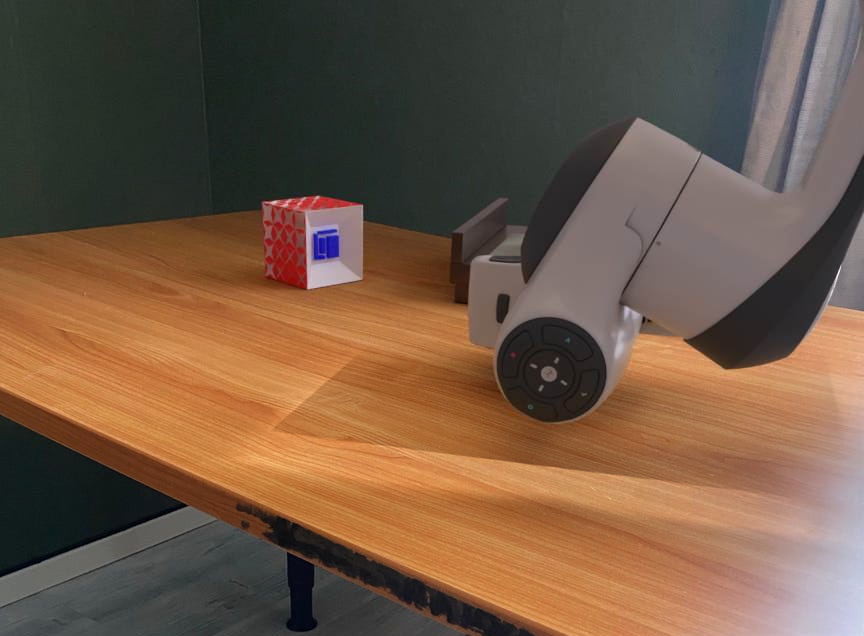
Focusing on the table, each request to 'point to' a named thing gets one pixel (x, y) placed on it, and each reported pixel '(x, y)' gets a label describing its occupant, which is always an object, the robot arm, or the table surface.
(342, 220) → the red and white cube
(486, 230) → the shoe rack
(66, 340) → the table surface
